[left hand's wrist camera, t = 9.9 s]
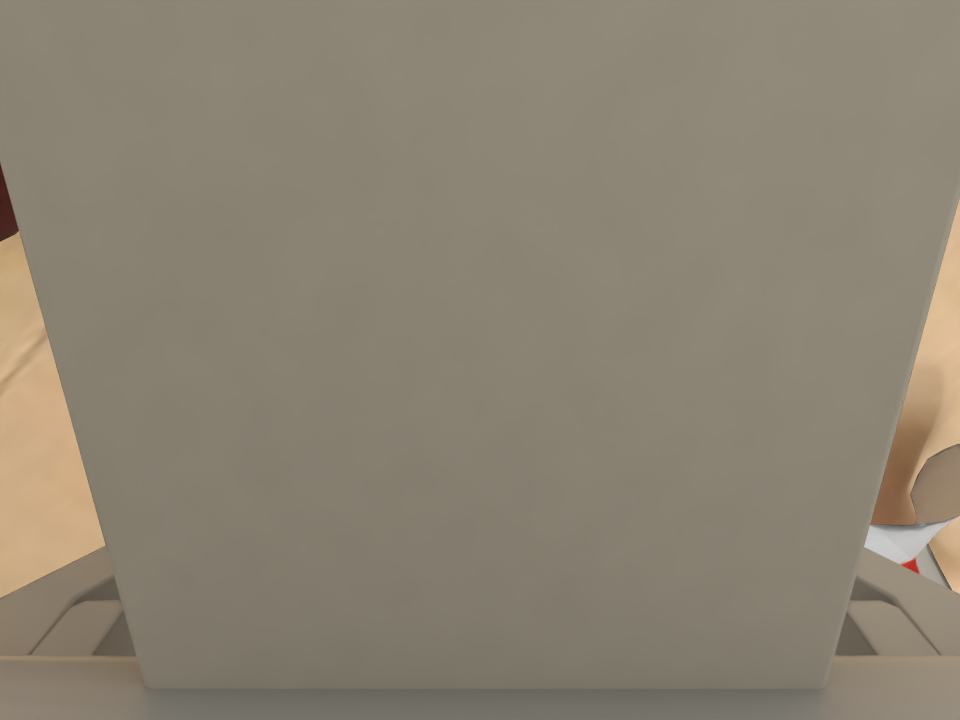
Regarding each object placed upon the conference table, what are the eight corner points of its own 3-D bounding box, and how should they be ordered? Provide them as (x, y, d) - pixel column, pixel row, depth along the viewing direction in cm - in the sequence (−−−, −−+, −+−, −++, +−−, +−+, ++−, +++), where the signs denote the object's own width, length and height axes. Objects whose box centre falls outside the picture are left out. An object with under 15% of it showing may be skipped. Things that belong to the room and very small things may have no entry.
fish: (587, 633, 25) (833, 876, 17) (817, 347, 27) (1125, 443, 20) (678, 710, 31) (888, 913, 23) (858, 473, 34) (1102, 583, 26)
